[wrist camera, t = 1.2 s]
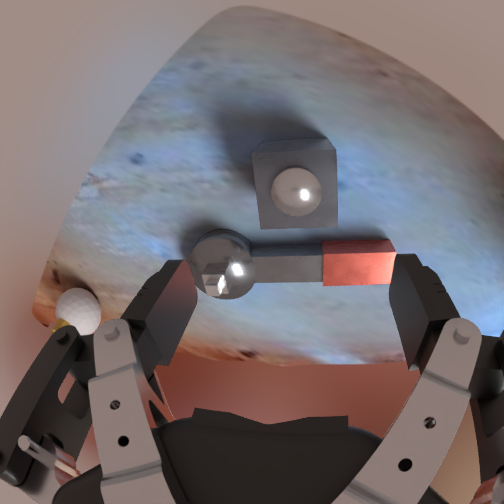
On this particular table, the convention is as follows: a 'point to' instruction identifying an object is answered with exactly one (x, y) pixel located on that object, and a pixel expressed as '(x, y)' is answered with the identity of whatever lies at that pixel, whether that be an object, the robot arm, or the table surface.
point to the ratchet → (285, 263)
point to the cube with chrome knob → (296, 183)
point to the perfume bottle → (78, 311)
